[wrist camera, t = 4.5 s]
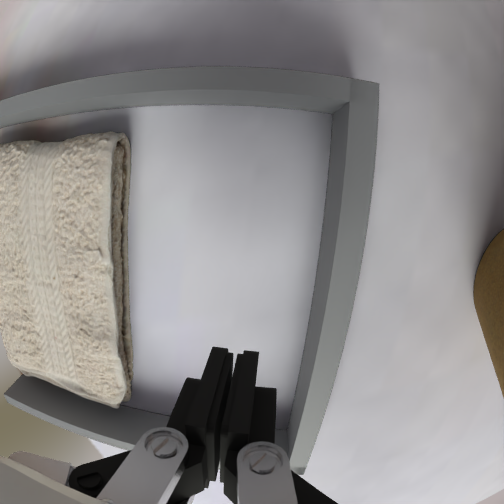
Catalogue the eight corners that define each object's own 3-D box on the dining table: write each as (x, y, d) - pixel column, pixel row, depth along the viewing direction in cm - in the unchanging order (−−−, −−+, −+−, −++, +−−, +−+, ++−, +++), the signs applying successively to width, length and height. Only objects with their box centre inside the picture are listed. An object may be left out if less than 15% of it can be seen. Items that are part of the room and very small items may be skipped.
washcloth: (27, 358, 21) (7, 377, 18) (1, 143, 16) (-29, 144, 13) (144, 396, 20) (130, 424, 17) (138, 132, 15) (111, 128, 12)
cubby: (-10, 117, 15) (-44, 117, 11) (357, 99, 14) (379, 83, 10) (27, 380, 21) (7, 402, 18) (301, 438, 20) (303, 474, 17)
